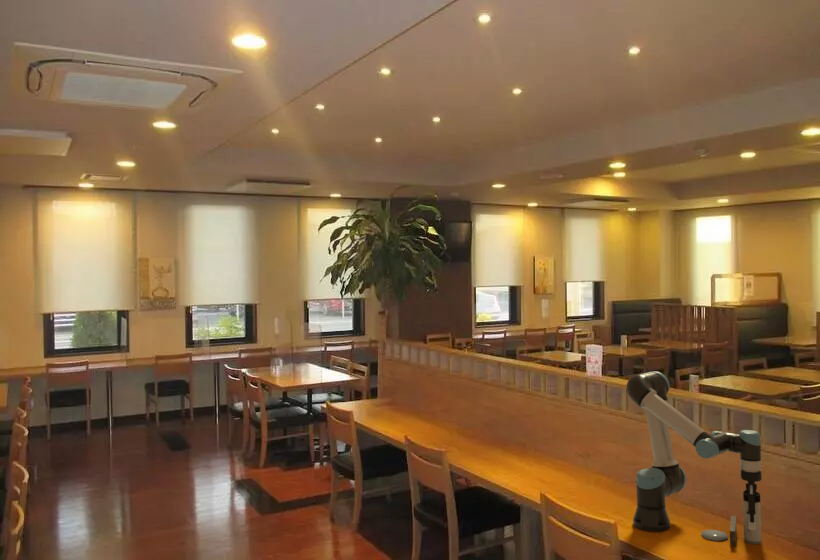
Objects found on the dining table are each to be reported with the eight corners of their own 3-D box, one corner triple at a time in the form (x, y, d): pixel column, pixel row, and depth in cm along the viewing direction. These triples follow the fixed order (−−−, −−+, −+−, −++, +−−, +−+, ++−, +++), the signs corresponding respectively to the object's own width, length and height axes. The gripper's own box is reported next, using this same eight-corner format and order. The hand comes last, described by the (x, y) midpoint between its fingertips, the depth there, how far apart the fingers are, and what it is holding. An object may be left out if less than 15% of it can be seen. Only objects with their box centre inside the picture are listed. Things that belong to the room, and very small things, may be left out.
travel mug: (755, 537, 282) (754, 489, 282) (764, 544, 275) (763, 494, 275) (740, 538, 282) (739, 489, 282) (749, 544, 275) (748, 494, 275)
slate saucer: (700, 538, 282) (700, 537, 282) (702, 530, 291) (702, 528, 291) (727, 542, 278) (727, 540, 278) (728, 533, 287) (728, 531, 287)
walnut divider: (730, 545, 275) (729, 530, 275) (731, 529, 291) (730, 515, 291) (735, 546, 274) (735, 531, 274) (736, 530, 290) (736, 516, 290)
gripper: (761, 477, 268) (763, 536, 268) (761, 464, 285) (762, 520, 285) (740, 475, 271) (741, 533, 271) (740, 462, 288) (742, 517, 289)
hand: (752, 526), depth 278 cm, fingers closed on travel mug, 6 cm apart
